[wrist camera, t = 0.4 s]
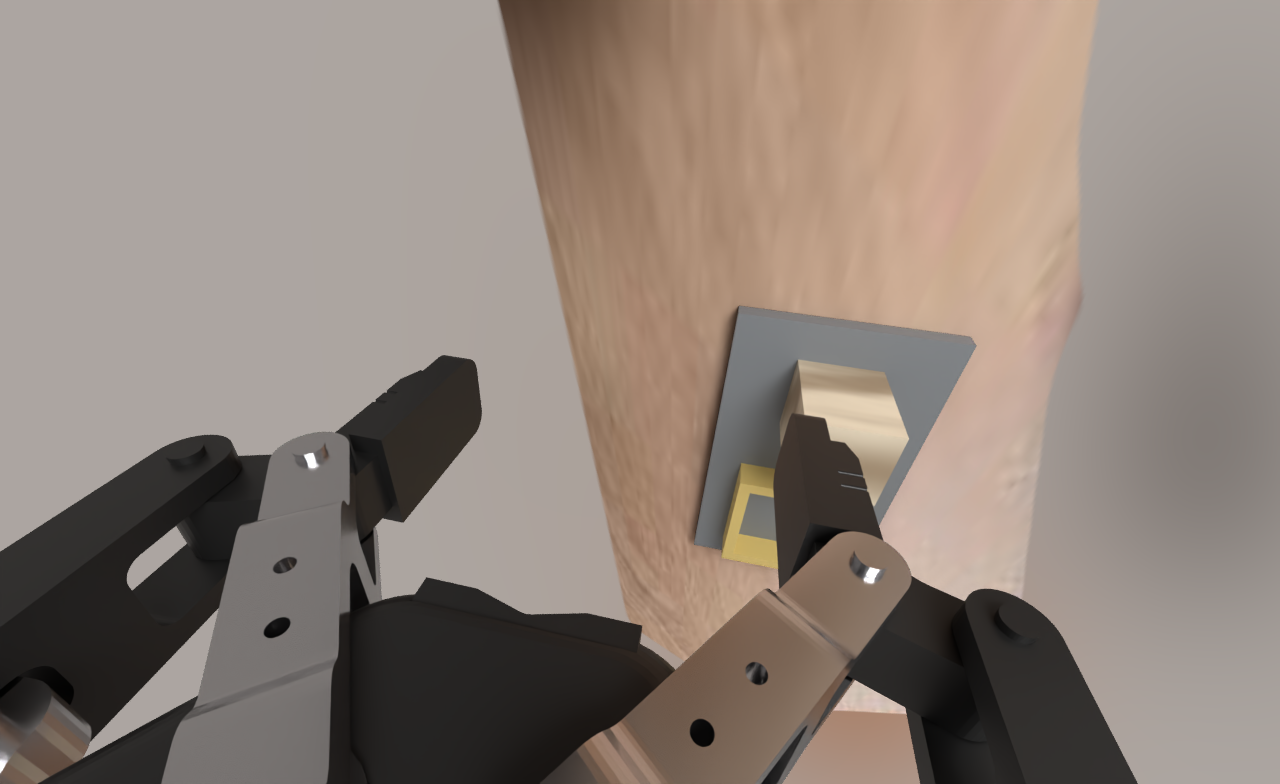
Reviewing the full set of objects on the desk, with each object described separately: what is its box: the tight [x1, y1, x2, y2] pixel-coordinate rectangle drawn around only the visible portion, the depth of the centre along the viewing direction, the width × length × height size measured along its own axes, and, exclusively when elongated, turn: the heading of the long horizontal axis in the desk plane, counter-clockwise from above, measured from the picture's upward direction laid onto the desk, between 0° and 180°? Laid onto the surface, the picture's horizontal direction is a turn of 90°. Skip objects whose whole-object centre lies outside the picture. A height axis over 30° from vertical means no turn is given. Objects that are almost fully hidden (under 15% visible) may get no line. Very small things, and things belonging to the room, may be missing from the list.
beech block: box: [780, 360, 909, 506], centre depth 28 cm, size 5×5×6 cm
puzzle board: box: [694, 306, 976, 569], centre depth 34 cm, size 22×13×3 cm, turn 177°
